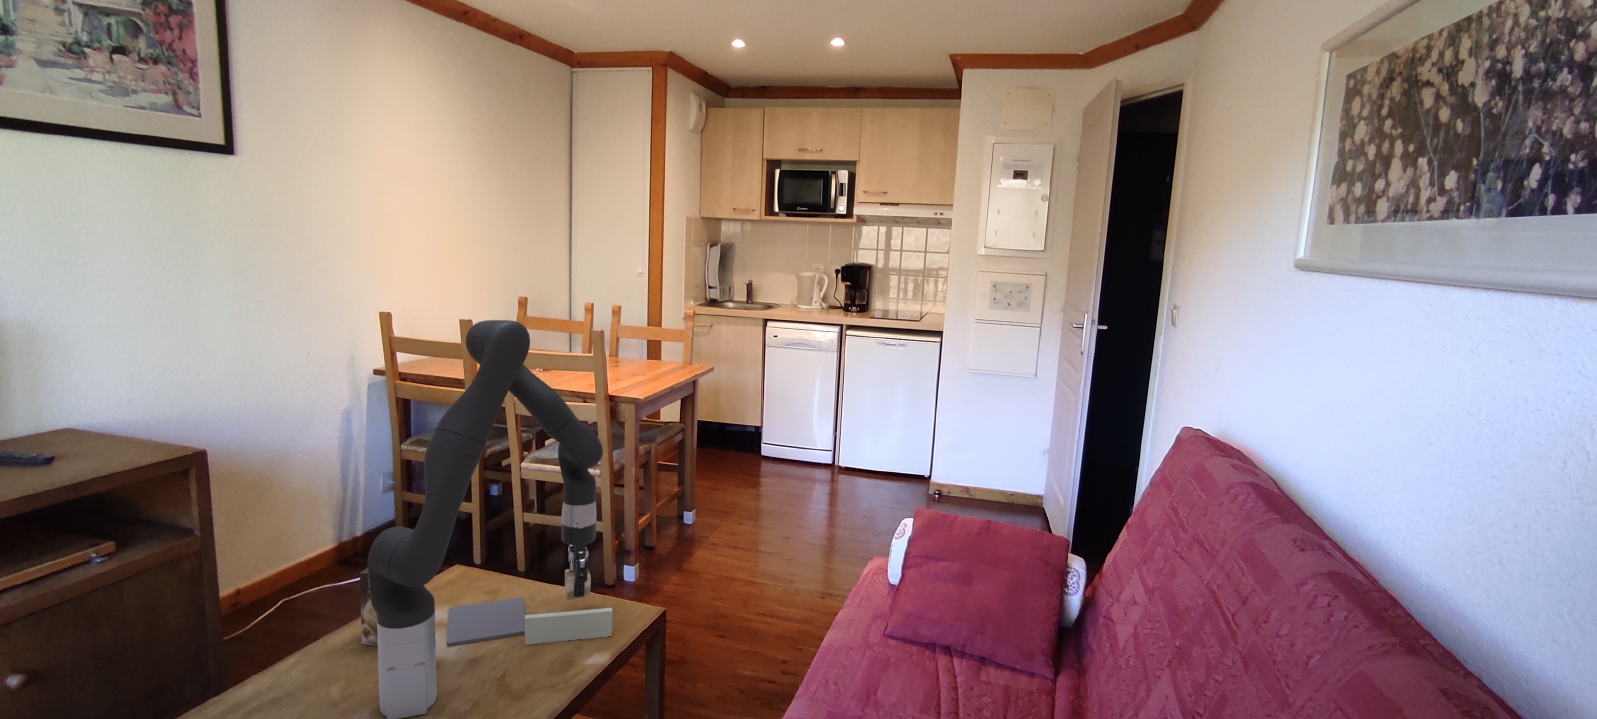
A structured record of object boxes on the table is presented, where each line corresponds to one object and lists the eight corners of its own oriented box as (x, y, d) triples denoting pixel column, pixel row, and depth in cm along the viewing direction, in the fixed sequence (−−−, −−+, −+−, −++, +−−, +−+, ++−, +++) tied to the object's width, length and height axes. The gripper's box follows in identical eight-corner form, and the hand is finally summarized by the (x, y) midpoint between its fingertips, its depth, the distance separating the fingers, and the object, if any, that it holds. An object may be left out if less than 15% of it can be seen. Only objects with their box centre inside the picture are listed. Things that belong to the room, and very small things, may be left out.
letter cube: (590, 596, 163) (590, 575, 162) (567, 599, 161) (567, 578, 160) (587, 587, 168) (587, 566, 167) (564, 590, 165) (565, 569, 165)
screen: (611, 636, 158) (612, 610, 157) (524, 644, 153) (524, 618, 152) (611, 632, 160) (612, 607, 159) (525, 641, 154) (525, 615, 153)
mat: (528, 633, 157) (528, 630, 157) (447, 646, 151) (447, 643, 150) (523, 600, 172) (523, 596, 172) (448, 610, 165) (448, 607, 165)
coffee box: (359, 644, 150) (356, 572, 147) (380, 629, 156) (378, 559, 153) (401, 649, 149) (399, 576, 146) (420, 633, 155) (418, 563, 153)
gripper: (558, 510, 167) (556, 579, 169) (565, 532, 154) (564, 607, 156) (591, 507, 170) (589, 575, 172) (601, 529, 157) (599, 602, 159)
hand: (577, 590), depth 164 cm, fingers closed on letter cube, 5 cm apart
